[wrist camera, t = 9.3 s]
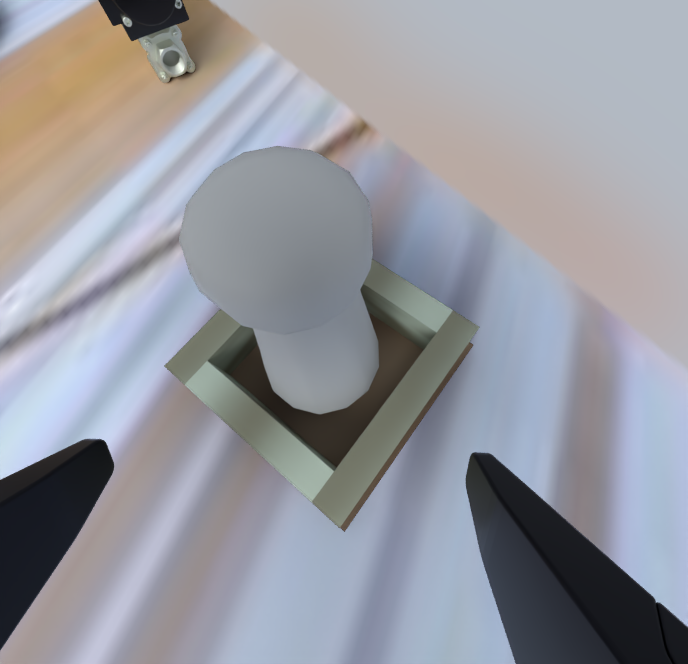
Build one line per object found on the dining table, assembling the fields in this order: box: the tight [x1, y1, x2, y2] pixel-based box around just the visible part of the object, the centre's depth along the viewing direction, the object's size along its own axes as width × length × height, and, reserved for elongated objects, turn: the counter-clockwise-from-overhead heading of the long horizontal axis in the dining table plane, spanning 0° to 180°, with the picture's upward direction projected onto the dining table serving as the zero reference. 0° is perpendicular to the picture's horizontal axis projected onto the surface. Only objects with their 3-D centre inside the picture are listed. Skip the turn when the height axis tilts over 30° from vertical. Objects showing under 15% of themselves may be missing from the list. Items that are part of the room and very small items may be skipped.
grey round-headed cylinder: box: [179, 146, 379, 414], centre depth 12 cm, size 6×6×13 cm
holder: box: [165, 259, 479, 532], centre depth 18 cm, size 12×12×4 cm
